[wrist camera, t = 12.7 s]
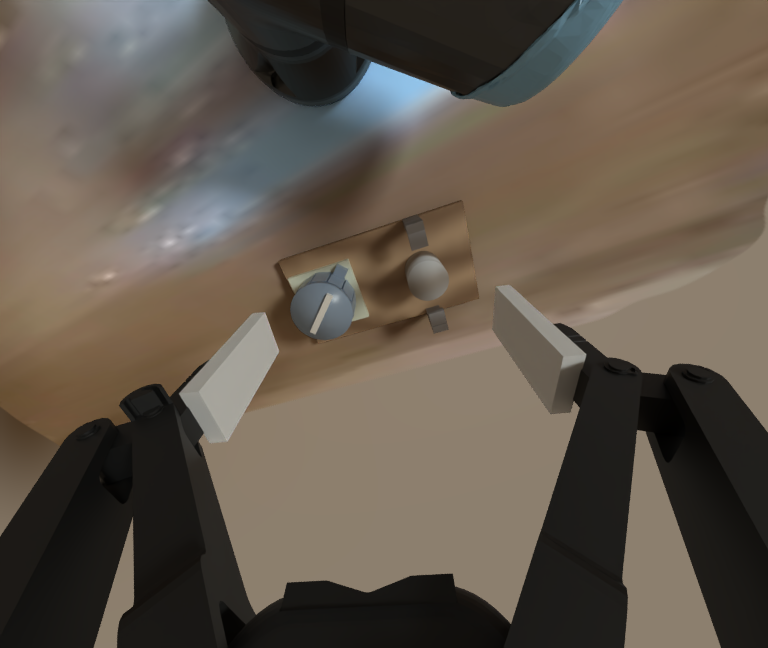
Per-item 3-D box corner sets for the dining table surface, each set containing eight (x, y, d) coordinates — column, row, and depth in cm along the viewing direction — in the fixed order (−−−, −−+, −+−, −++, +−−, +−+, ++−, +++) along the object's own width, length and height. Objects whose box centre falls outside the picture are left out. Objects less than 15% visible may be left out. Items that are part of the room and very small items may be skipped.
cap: (315, 252, 38) (305, 263, 33) (369, 279, 39) (367, 293, 35) (289, 317, 42) (277, 335, 37) (338, 338, 44) (333, 358, 39)
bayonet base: (280, 258, 40) (260, 273, 34) (460, 198, 37) (476, 202, 30) (320, 341, 46) (310, 366, 40) (477, 296, 43) (493, 317, 37)
